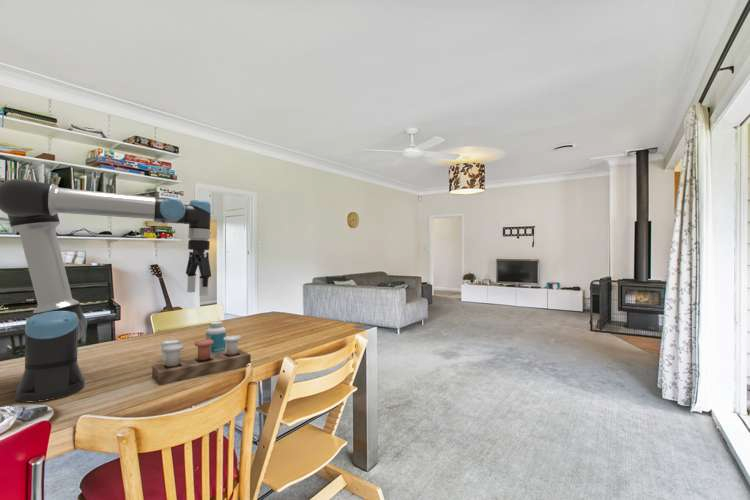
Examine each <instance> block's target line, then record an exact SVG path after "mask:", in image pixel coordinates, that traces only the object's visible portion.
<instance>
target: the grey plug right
mask: <svg viewBox="0 0 750 500" xmlns="http://www.w3.org/2000/svg"><path fill="white" fill-rule="evenodd" d="M241 339H242V336H241V335H238V334H237V335H234V334H233V335H226V337H224V341H225V342H226V354H228V355H233V354H237V353H238V350H239V342H240V341H241Z"/></svg>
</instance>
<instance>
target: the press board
mask: <svg viewBox="0 0 750 500" xmlns="http://www.w3.org/2000/svg"><path fill="white" fill-rule="evenodd" d="M251 357H252V355H251V354H250V353H248V352H246V351H244V350H242V349H239V348H238V353H237V354H233V355H228V354H226V352H222V353H217V354H211V355H210V359H207V360H198V356H196V357H190V358H185V359H180V362H179V364H178V365H175V366H166V362H163V363H157V364H156V363H155V364H152V365H151V378H152V379H153V380H154V381H155V382H156V384H157V385H158V386H163V385H167V384H172V383H176V382H182V381H185V380H190V379H195V378H199V377H203V376H208V375H212V374H218V373H222V372H227V371H232V370H237V369H240V367H241V368H244V367H245V366H246V365H247V364H248V363H251V362H252V361H251ZM246 367H247V366H246Z"/></svg>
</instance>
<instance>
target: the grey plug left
mask: <svg viewBox="0 0 750 500" xmlns="http://www.w3.org/2000/svg"><path fill="white" fill-rule="evenodd" d="M181 350H184V344H182V343H181V344H172V345H167V346H164V347H163V351H164V352H166V361H165V363H166V366H175V365H178V364H179V362H180V360H181V358H180V354H181V353H180V352H181Z"/></svg>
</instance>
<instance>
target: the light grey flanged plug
mask: <svg viewBox="0 0 750 500" xmlns="http://www.w3.org/2000/svg"><path fill="white" fill-rule="evenodd" d="M172 344H182V340H180V339H168V340H164V341H162V342H161V343H160V345H161V357H162V361H163V362H166V352H164V351H163V347H164V346H167V345H172Z"/></svg>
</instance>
